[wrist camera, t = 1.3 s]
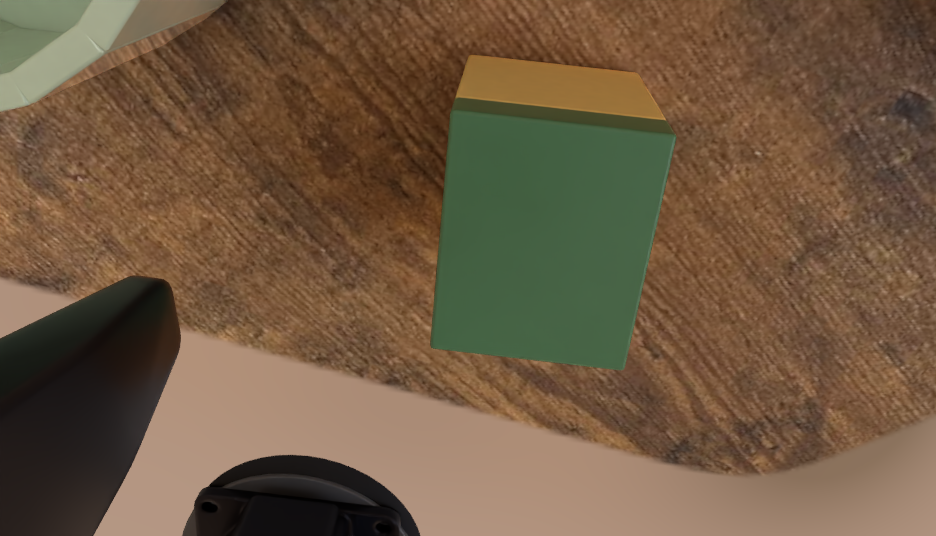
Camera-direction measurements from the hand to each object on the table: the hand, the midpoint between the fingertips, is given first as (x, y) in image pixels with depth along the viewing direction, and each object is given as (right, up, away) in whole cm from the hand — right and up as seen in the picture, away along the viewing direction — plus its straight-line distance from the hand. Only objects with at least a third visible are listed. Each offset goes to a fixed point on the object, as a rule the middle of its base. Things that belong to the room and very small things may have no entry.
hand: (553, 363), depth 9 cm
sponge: (+1, +4, +10) cm, 11 cm away
